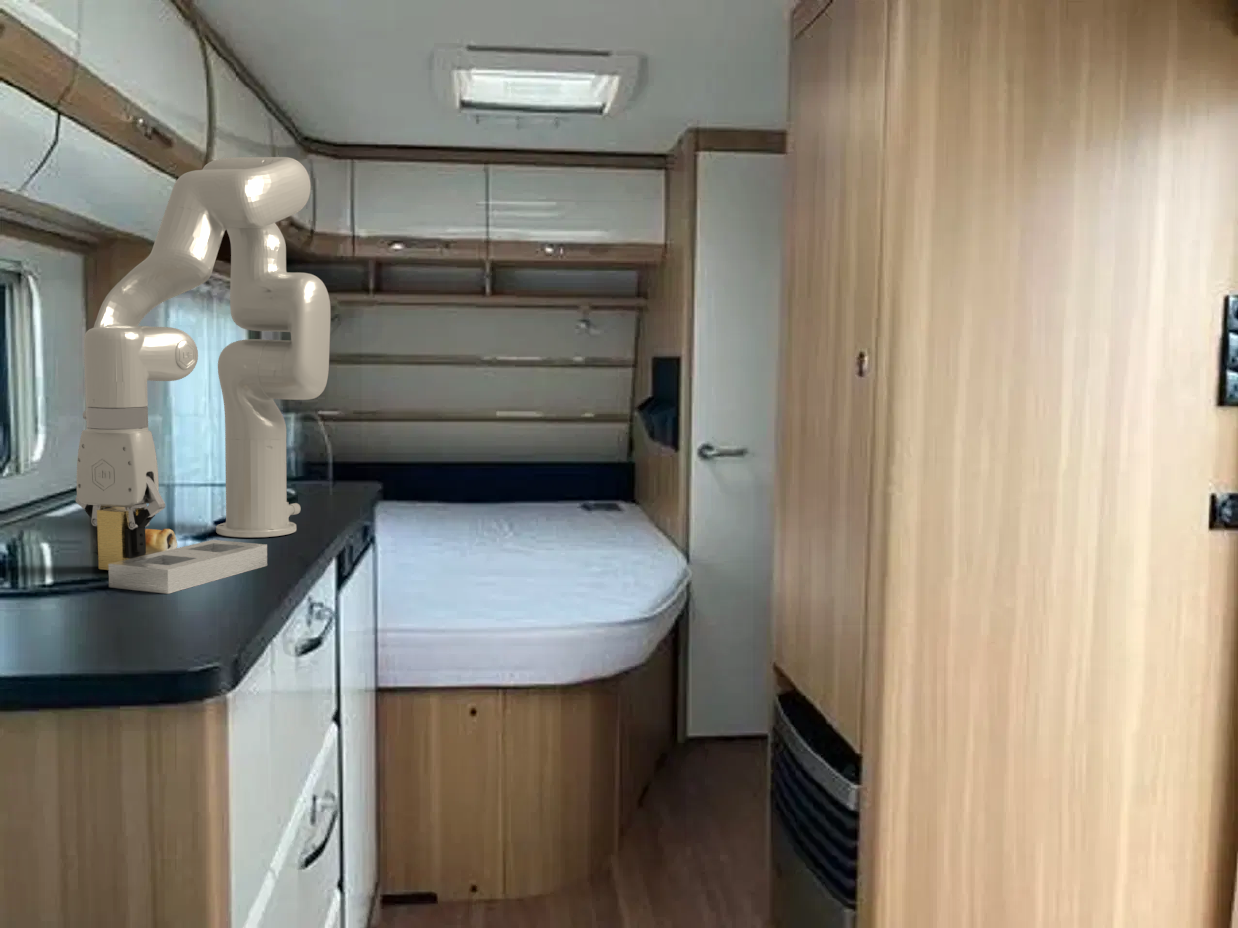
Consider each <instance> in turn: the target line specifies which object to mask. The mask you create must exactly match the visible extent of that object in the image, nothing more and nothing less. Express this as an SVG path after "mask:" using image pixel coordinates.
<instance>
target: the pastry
mask: <svg viewBox="0 0 1238 928" xmlns="http://www.w3.org/2000/svg"><path fill="white" fill-rule="evenodd" d="M145 539H146V554H145V555H149V554H153V553H158V552H162V551H166V550H171V549H175V548H178V542H177V537H176V534H175V532H174V530H172V529H170V528H163V529H162V530H161V529H155V528H154V529H153V528H145ZM145 555H144V556H145Z"/></svg>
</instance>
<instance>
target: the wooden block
mask: <svg viewBox="0 0 1238 928" xmlns="http://www.w3.org/2000/svg"><path fill="white" fill-rule="evenodd" d="M135 511H136V516H137V515H138V510H137V509H135ZM125 529H129V527H128V523H127V517H126V512H125V507H111V508H106V509H105V508H103V509H100V510H97V531H98V555H97V557H98V558H97V559H98V569H99V570H105V571H109V565H108V564H110V563H114V562H118V561H123V560H127V559H129V558H126V555H125Z"/></svg>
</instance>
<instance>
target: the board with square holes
mask: <svg viewBox="0 0 1238 928" xmlns="http://www.w3.org/2000/svg"><path fill="white" fill-rule="evenodd" d="M108 565H109V570H108V588H111V589H122V590H130V591H131V590H132V591H140V592H149V593H156V594H157V593H159V594H166V595H169V594H173V593H175V592H179V591H184V590H185V589H186V590H187V589H190V588H192V587H193V588H194V587H197V586H200V585H204V584H207V583H211V582H212V583H213V582H214V581H219V580H222V579H225V578H229V577H232V576H235V575H236V576H237V575H239V574H243V573H246V572H250V571H253V570H257V569H261V568H264V567H267V566H268V544H267V543H266V544H264V543H263V544H262V543H254V542H253V543H252V542H241V541H233V540H232V541H231V540H220V539H211V540H206V541H202V542H197V543H193V544H189V545H185V546H181V547H180V546H179V547H177V548H175V549H171V550H166V551H162V552H158V553H153V554H149V555H145V556H140V557H136V558H132V559H127V560H123V561H118V562H114V563H110V564H108Z"/></svg>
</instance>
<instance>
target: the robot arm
mask: <svg viewBox="0 0 1238 928" xmlns="http://www.w3.org/2000/svg"><path fill="white" fill-rule="evenodd" d="M311 188H312V186H311V179H310V175H309V172H308V171H307V169H306V167H305V166H304V165H303V164H302V163H301V162H300V161H298V160H296V159H295V158H292V157H288V156H273V157H272V156H269V157H268V156H265V157H264V156H261V157H257V156H256V157H252V156H251V157H246V156H245V157H243V156H242V157H227V158H226V157H223V158H218V159H215V160H211V161H209V162H208V163H207V164H205V165H204V166H203V168H202V169H195V170H191V171H188V172H185V173H183V174H181V175H180V176H179V177H178V178H177V180H176V181H175V183H174V185H173V187H172V190H171V193H170V196H169V199H168V201H167V205H166V207H165V210H164V214H163V215H162V216H163V217H162V220H161V223H160V226H159V228H158V230H157V234H156V237H155V240H154V244H153V246H152V250H150V251H151V252H150V254H148V256H147V257H146V258H145V259H144V260H143V261H141V262H140V263H139V264H137V265H136V266H135V267H133V269H131V270H130V271H129V272H128V273H127V274H126V275H125V276H123V277H122V278H121V280H119V282H117V283H116V284H115V285H114V287H112V289H110V291H109V292H108V294H106V296H105V298H104V300H103V301H102V303H101V305H100V307H99V311H98V313H97V316H96V319H95V321H94V325H93V327H92V328H89V329H88V330H86V332H85V334H84V337H83V353H84V357H83V360H84V385H85V388H84V389H85V410H84V411H82V419H84V420H85V421H86V429H83V430H82V431H81V434H80V438H79V444H78V452H77V460H76V497H75V503H76V504H78V506H80V507H81V508H82V509H83V510H84V511H85V513H86V514H87V515H88V516H89V518H90V519H91V521H90V522H91V525H92V526H93V527H95V536H96V539H95V541H96V555H97V556H98V531H97V510H100V509H106V508H111V507H125V512H126V517H127V523H128V527H129V529H125V555H126V558H129V559H132V558H136V557H140V556H144V555H145V554H146V539H145V529H146V527H149V526H150V524H151V523H150V522H151V521H152V519H154V517H155V516H156V515H157V514H159V513H160V512H161V511H163V510H164V509H165V508H166V502H165V501H164V499H163V497H162V495H161V494H160V491H159V490H160V489H159V488H160V487H159V484H160V483H159V469H158V468H159V467H158V460H157V453H156V446H155V442H154V437H153V434H152V431H151V430H149V408H148V406H149V403H148V381H149V382H152V381H153V382H175V381H179V380H181V379H185V378H186V377H187V376H189V375H190V374H191V373H193V371H194V369H195V368H196V366H197V363H198V359H199V351H198V346H197V344H196V342H195V340H194V339H193V338H192V337H191V335H189V334H188V333H187V332H186V331H184V330H181V329H179V328H176V327H170V326H148V325H140V324H141V321H142V320H143V319H144V318H145V317H146V315H147V314H149V313H150V312H151V311H152V310H153V309H154V308H156V307H157V306H159V305H160V304H162V303H164V302H166V301H168V300H170V299H172V298H174V297H177V296H180V295H181V294H184V293H186V292H188V291H191V290H193V289H195V288H197V287H199V286H201V285H202V284H204V283H207V281H208V280H209V279H210V278H211V275H212V274H213V273H212V272H213V270H214V268H215V267H214V266H215V262H216V259H217V257H218V253H219V250H220V247H221V244H222V241H223V237H224V235H225V232H227V234H228V237H229V242H230V255H231V256H230V288H229V290H230V291H229V306H230V307H229V308H230V315H231V318H232V321H233V322H234V323H235V325H236V326H237V327H238V328H241V329H244V330H247V331H255V332H275V333H276V332H283V333H284V332H285V333H290V340H286V339H285V340H283V339H263V338H262V339H260V338H259V339H258V338H257V339H255V338H250V339H240V340H236V341H233V342H231V343H229V344H228V345H226V346H225V347H224V348H223V349H222V351H220V354H219V356H218V360H217V374H218V379H219V384H220V389H221V394H222V399H223V407H224V410H223V411H224V427H225V429H224V432H225V435H224V437H225V438H224V440H225V441H224V443H225V444H224V446H225V448H224V450H225V451H224V452H225V453H224V454H225V457H224V458H225V522H223V523H220V524H217V525H216V526H215V532H216V533H217V535H220V536H224V537H231V538H269V537H271V538H272V537H279V536H285V535H290V534H294V533H296V532H297V524H296V523H295V522H293V521H290V520H289V517H290V516H293V515H298V514H299V513H301V505H300V504H299V503H297V502H295V503H290V504H289V501H288V500H287V498H288V497H287V496H288V495H287V490H288V489H287V425H286V421H285V418H284V416H283V414H282V412H281V410H280V409H279V407H278V405H277V403H276V402H275V400H290V401H292V400H295V401H296V400H299V401H308V400H314V399H316V398H318V397H319V396H320V395H322V393H323V392H324V391H325V389H326V386H327V383H328V377H329V371H330V370H329V369H330V367H329V366H330V345H331V344H330V343H331V342H330V341H331V301H330V300H331V299H330V295H329V292H328V289H327V287H326V285H325V283H324V282H323V280H322V279H320V278H319V277H318V276H316V275H314V274H312V273H308V272H288V271H287V246H286V239H285V237H284V234H283V233H282V231H281V229H280V228H279V226H278V225H277V223H278V222H280V221H282V220H285V219H287V218H289V217H291V216H294V215H296V214H297V213H299V212H300V211H301V210H303V208H304V207H305V206H306V204H307V203H308V201H309V199H310V195H311ZM135 509H137V510H138V515H137V516H136V511H135Z"/></svg>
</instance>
